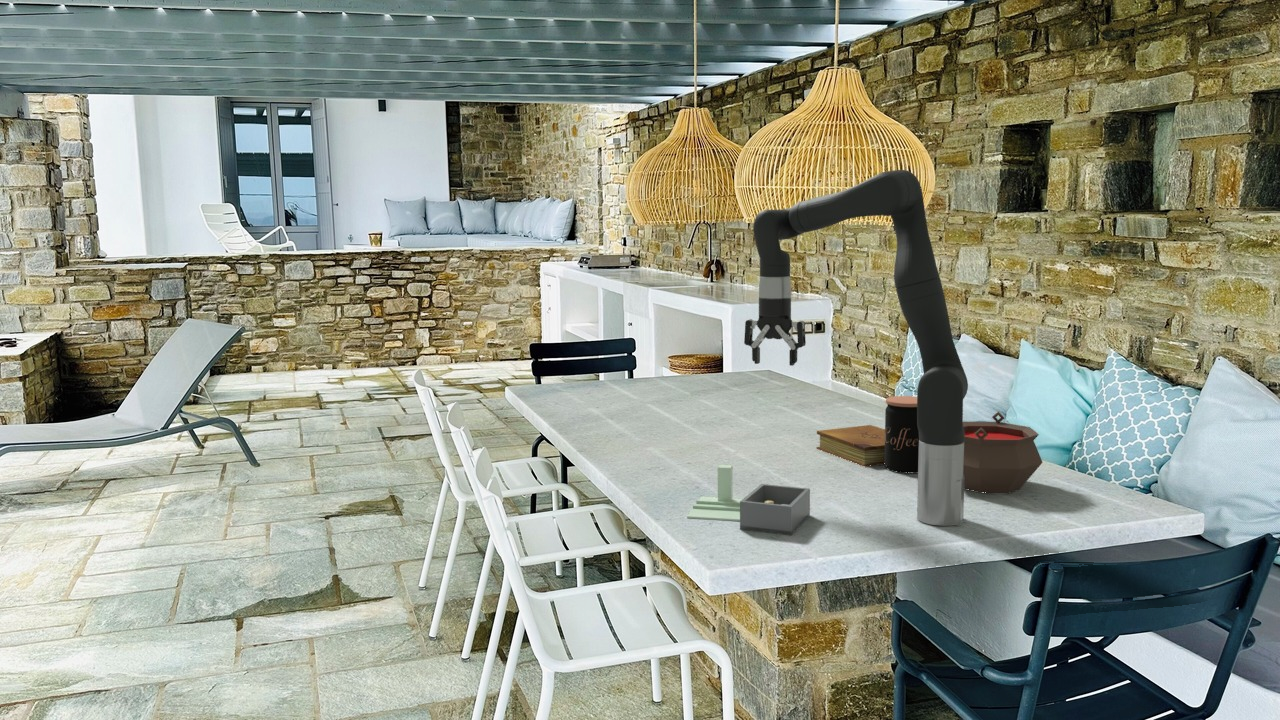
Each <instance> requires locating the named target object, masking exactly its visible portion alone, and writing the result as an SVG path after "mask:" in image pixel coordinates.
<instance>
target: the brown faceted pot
mask: <svg viewBox="0 0 1280 720" xmlns="http://www.w3.org/2000/svg"><path fill="white" fill-rule="evenodd" d="M997 417H999V419H998V418H997ZM991 418H992V419H993V420H994V421H963V428H964V431H965V437H964V469H963V475H964V476H965V482H964V488H965V489H969V490H968V491H970V490H974V491H978V492H984V493H983V494H988V493H1007V494H1010V493H1009V492H1011V493H1013V491H1014V492H1017V491H1019V489H1020V490H1021V489H1022V488H1023V486H1024V485H1025V484H1026V483H1027V482H1028V480H1030V478H1031V477H1032V476H1033V474H1034V473H1036V471H1037V470H1038V468H1040V466H1041V464H1043V459H1042V458H1041V455H1040V452H1039V450H1038V447H1037V446H1036V443H1035V440H1036V439H1037V437H1038V436H1040V434H1039V433H1038V432H1036V430H1034V429H1033V428H1031V427H1030V426H1025V425H1020V424H1013V423H1008V422H1002V421H1003V420H1004V419H1005V417H1004V415H1002V413H1001V412H1000V411H997V412H996V413H994V414H993V415H992V416H991ZM965 489H964V490H965ZM1016 490H1017V491H1016ZM974 491H973V492H974ZM978 492H977V493H978ZM985 492H986V493H985Z"/></svg>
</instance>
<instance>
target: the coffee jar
mask: <svg viewBox="0 0 1280 720" xmlns="http://www.w3.org/2000/svg"><path fill="white" fill-rule="evenodd" d="M885 403H886V405H887V406H886V407H885V412H884V413H885V414H884V415H885V416H884V418H885V419H884V420H885V421H884V429H885V460H884V463H885V464H884V466H885V468H886V469H887V468H888V469H889V471H891V470H893V471H892V472H894V471H897V472H896V473H899V472H907V473H906V474H909V473H908V472H918V456H919V430H918V426H917V396H913V395H896V396H890V397H886V399H885ZM888 469H887V470H888Z"/></svg>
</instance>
